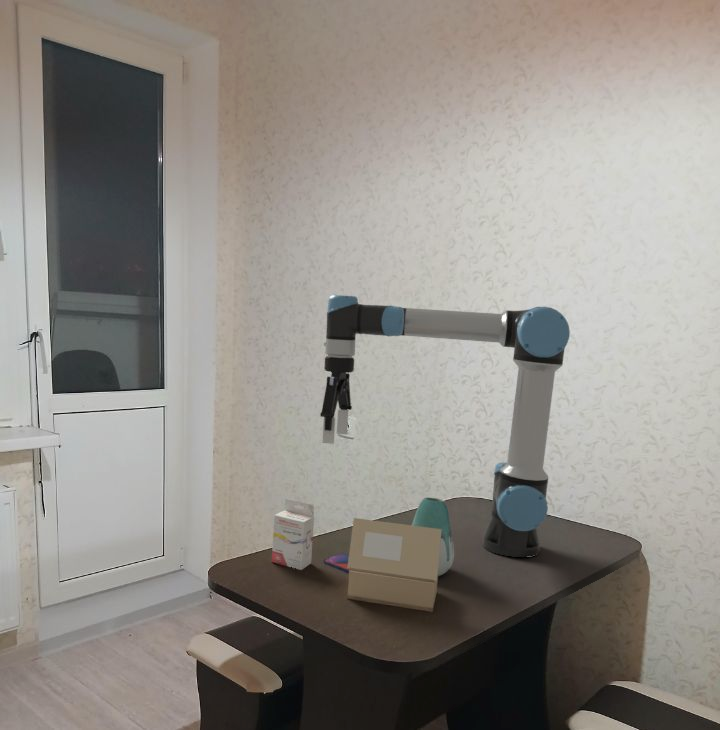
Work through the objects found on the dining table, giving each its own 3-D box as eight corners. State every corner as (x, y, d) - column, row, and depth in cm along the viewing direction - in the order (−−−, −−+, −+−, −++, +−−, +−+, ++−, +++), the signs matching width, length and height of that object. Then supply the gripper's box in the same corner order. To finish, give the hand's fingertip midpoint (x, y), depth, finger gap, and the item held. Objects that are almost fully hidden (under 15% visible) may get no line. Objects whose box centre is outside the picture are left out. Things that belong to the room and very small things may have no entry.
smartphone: (341, 556, 158) (341, 552, 158) (389, 574, 149) (389, 569, 149) (321, 564, 153) (321, 560, 153) (370, 583, 143) (370, 578, 143)
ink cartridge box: (270, 562, 150) (273, 502, 149) (281, 556, 155) (284, 497, 154) (301, 570, 147) (305, 509, 146) (312, 563, 151) (315, 503, 150)
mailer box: (436, 592, 140) (438, 565, 140) (432, 612, 130) (434, 583, 130) (357, 580, 144) (359, 554, 143) (347, 598, 134) (349, 571, 133)
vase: (424, 558, 160) (429, 488, 158) (462, 573, 151) (467, 500, 150) (393, 569, 151) (399, 495, 150) (431, 585, 143) (437, 508, 142)
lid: (441, 529, 133) (441, 529, 132) (436, 583, 130) (436, 583, 129) (354, 518, 137) (353, 517, 136) (347, 570, 134) (346, 570, 133)
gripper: (338, 353, 174) (333, 429, 176) (311, 357, 150) (306, 445, 152) (364, 354, 173) (360, 431, 174) (341, 359, 148) (337, 448, 150)
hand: (335, 438), depth 163 cm, fingers open, 13 cm apart
